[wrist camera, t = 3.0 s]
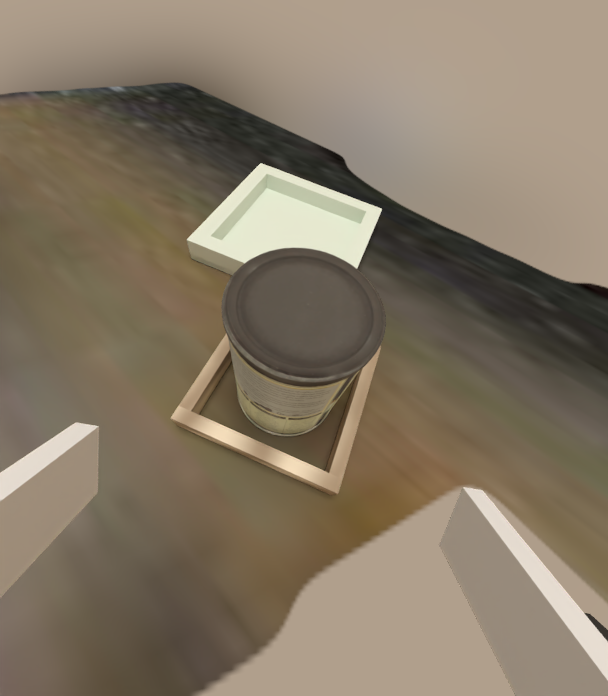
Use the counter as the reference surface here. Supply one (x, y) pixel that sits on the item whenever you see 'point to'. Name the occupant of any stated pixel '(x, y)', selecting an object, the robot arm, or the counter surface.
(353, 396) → the collar
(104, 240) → the counter surface
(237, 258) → the tray
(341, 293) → the coffee can
